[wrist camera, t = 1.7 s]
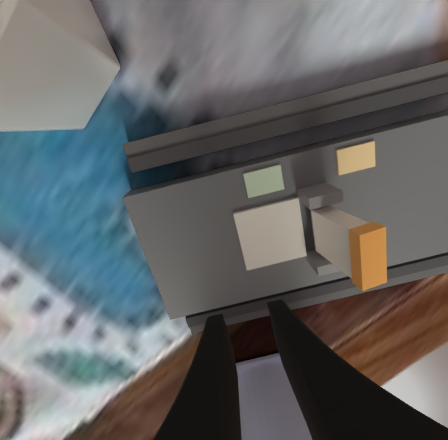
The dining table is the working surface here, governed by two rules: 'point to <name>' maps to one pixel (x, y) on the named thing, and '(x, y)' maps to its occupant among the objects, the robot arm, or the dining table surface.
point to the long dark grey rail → (288, 117)
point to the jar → (52, 64)
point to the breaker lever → (351, 245)
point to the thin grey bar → (320, 292)
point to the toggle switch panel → (291, 214)
